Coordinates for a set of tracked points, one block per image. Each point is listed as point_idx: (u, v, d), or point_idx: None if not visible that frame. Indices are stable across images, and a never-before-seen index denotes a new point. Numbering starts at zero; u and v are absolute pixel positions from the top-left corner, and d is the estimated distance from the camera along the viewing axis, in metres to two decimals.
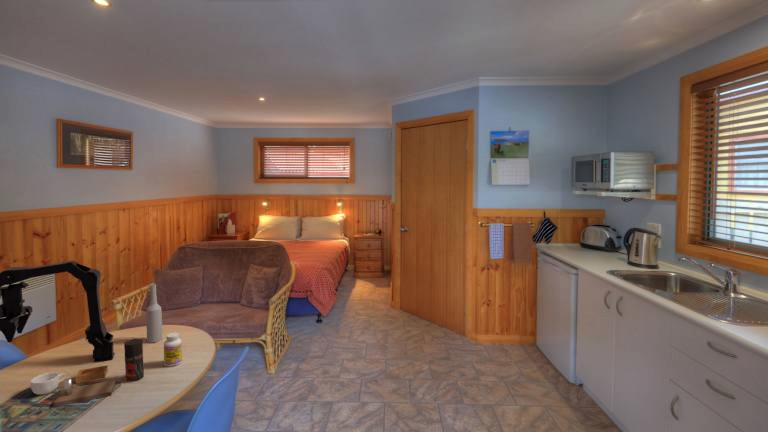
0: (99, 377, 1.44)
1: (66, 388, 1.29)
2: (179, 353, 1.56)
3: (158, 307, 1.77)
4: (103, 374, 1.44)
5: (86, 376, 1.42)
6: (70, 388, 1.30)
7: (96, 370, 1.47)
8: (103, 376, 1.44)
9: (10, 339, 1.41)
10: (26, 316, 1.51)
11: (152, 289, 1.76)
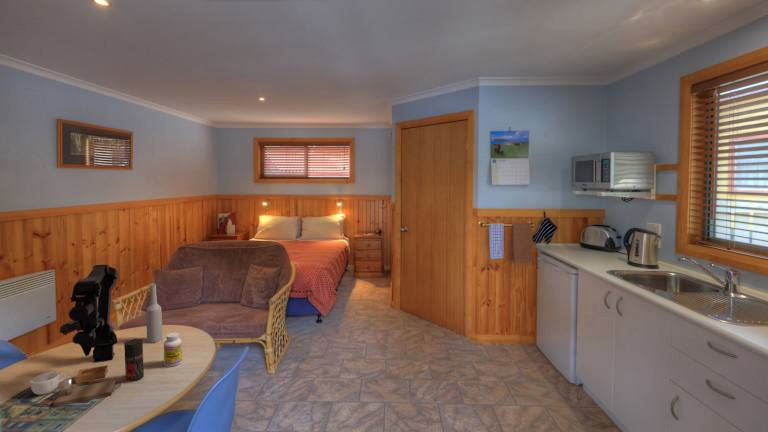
0: (99, 377, 1.44)
1: (66, 388, 1.29)
2: (179, 353, 1.56)
3: (158, 307, 1.77)
4: (103, 374, 1.44)
5: (86, 376, 1.42)
6: (70, 388, 1.30)
7: (96, 370, 1.47)
8: (103, 376, 1.44)
9: (87, 352, 1.39)
10: (99, 328, 1.49)
11: (152, 289, 1.76)
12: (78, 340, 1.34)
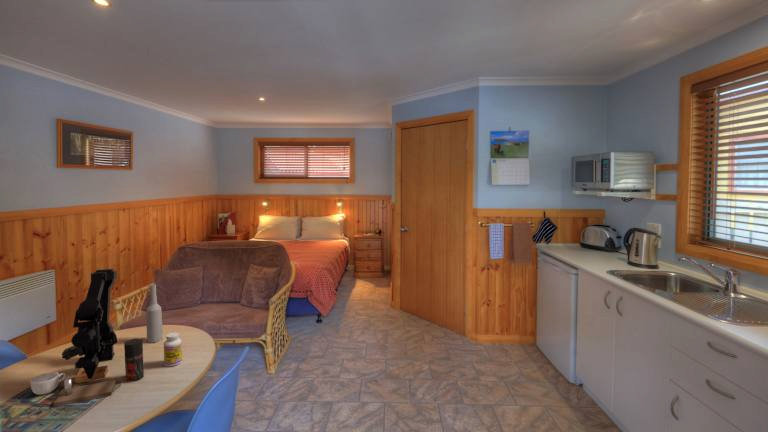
0: (99, 377, 1.44)
1: (66, 388, 1.29)
2: (179, 353, 1.56)
3: (158, 307, 1.77)
4: (103, 374, 1.44)
5: (86, 376, 1.42)
6: (70, 388, 1.30)
7: (96, 370, 1.47)
8: (103, 376, 1.44)
9: (91, 376, 1.42)
10: (100, 353, 1.49)
11: (152, 289, 1.76)
12: (81, 366, 1.35)
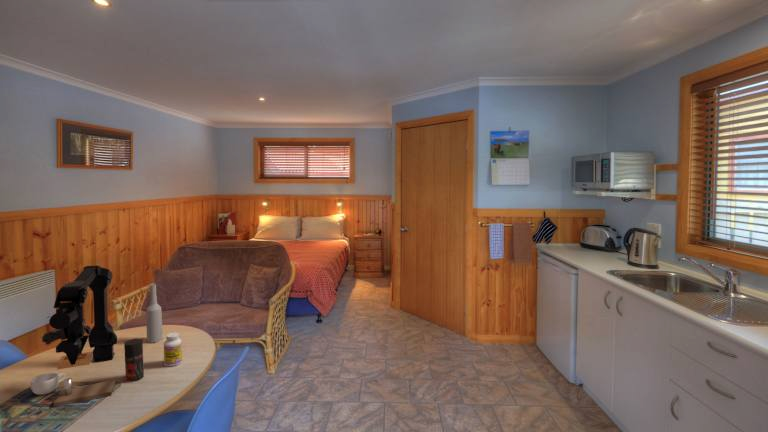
0: (83, 364, 1.33)
1: (66, 388, 1.29)
2: (179, 353, 1.56)
3: (158, 307, 1.77)
4: (87, 360, 1.33)
5: (68, 362, 1.31)
6: (70, 388, 1.30)
7: (80, 356, 1.36)
8: (87, 362, 1.33)
9: (73, 361, 1.31)
10: (85, 338, 1.38)
11: (152, 289, 1.76)
12: (62, 349, 1.25)
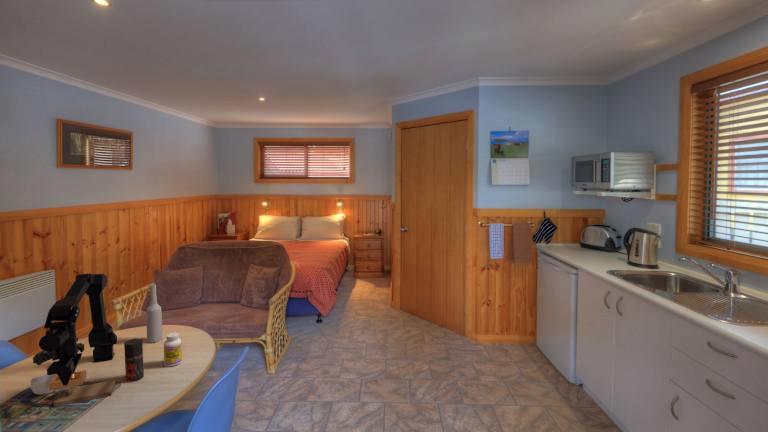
0: (76, 384, 1.29)
1: (66, 388, 1.29)
2: (179, 353, 1.56)
3: (158, 307, 1.77)
4: (80, 380, 1.29)
5: (61, 382, 1.27)
6: (70, 388, 1.30)
7: (73, 376, 1.32)
8: (80, 382, 1.30)
9: (66, 382, 1.27)
10: (78, 357, 1.34)
11: (152, 289, 1.76)
12: (53, 372, 1.21)
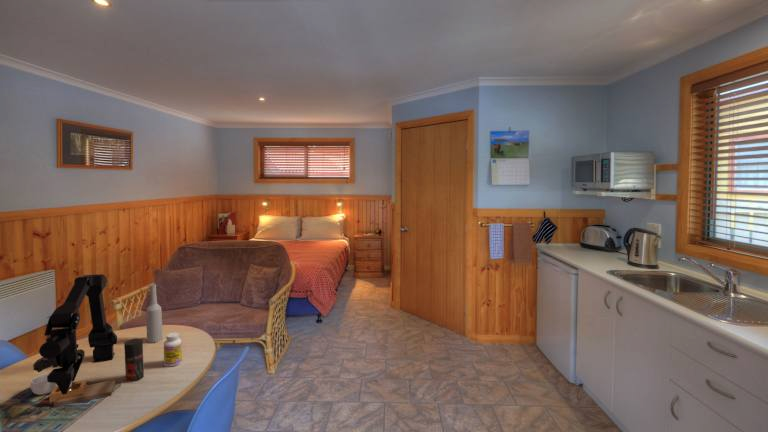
0: (77, 395, 1.29)
1: None
2: (179, 353, 1.56)
3: (158, 307, 1.77)
4: (81, 391, 1.30)
5: (61, 393, 1.27)
6: (70, 388, 1.30)
7: (73, 386, 1.33)
8: (81, 393, 1.30)
9: (65, 391, 1.26)
10: (79, 361, 1.35)
11: (152, 289, 1.76)
12: (54, 379, 1.21)
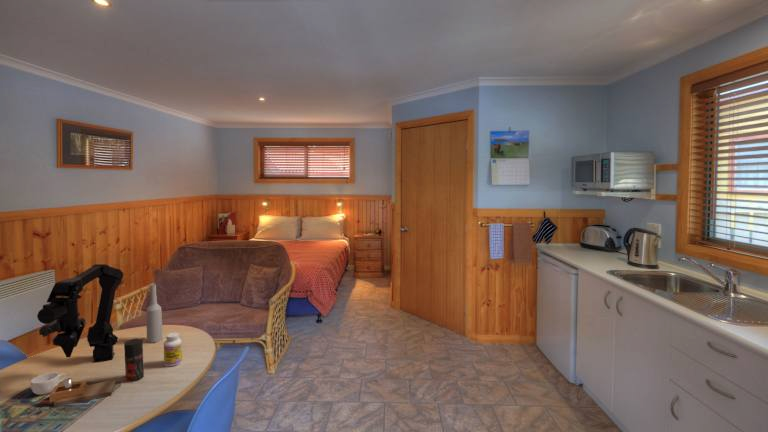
0: (77, 395, 1.29)
1: (66, 388, 1.29)
2: (179, 353, 1.56)
3: (158, 307, 1.77)
4: (81, 391, 1.30)
5: (61, 393, 1.27)
6: (70, 388, 1.30)
7: (73, 386, 1.33)
8: (81, 393, 1.30)
9: (69, 354, 1.37)
10: (81, 329, 1.47)
11: (152, 289, 1.76)
12: (59, 342, 1.32)
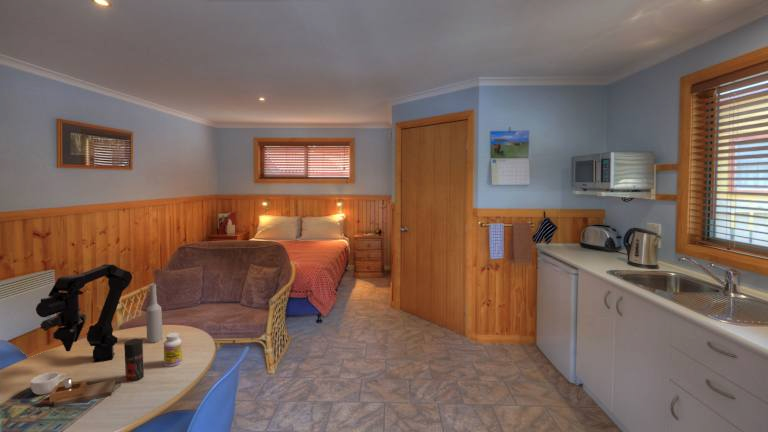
0: (77, 395, 1.29)
1: (66, 388, 1.29)
2: (179, 353, 1.56)
3: (158, 307, 1.77)
4: (81, 391, 1.30)
5: (61, 393, 1.27)
6: (70, 388, 1.30)
7: (73, 386, 1.33)
8: (81, 393, 1.30)
9: (69, 348, 1.41)
10: (81, 324, 1.50)
11: (152, 289, 1.76)
12: (59, 336, 1.35)
